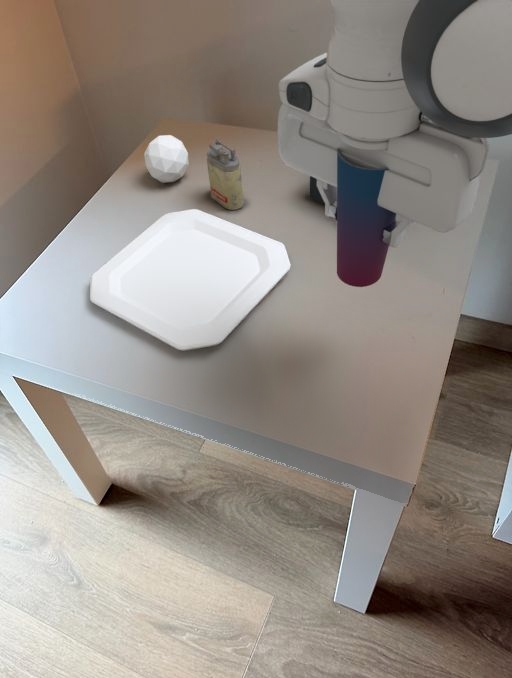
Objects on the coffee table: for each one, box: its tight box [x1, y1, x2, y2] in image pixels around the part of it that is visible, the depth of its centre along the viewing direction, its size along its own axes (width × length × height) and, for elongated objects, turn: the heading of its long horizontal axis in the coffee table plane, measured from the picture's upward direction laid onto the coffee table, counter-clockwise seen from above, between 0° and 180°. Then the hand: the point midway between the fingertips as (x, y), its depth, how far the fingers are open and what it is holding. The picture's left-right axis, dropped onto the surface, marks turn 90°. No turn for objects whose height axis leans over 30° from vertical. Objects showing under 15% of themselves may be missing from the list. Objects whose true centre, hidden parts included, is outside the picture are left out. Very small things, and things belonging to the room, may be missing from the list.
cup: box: [336, 148, 397, 288], centre depth 55 cm, size 7×7×15 cm
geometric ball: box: [143, 134, 190, 184], centre depth 95 cm, size 8×8×8 cm
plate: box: [89, 208, 292, 352], centre depth 80 cm, size 25×25×2 cm
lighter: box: [206, 138, 245, 211], centre depth 89 cm, size 7×4×10 cm, turn 37°
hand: (362, 228), depth 56 cm, fingers closed on cup, 6 cm apart
